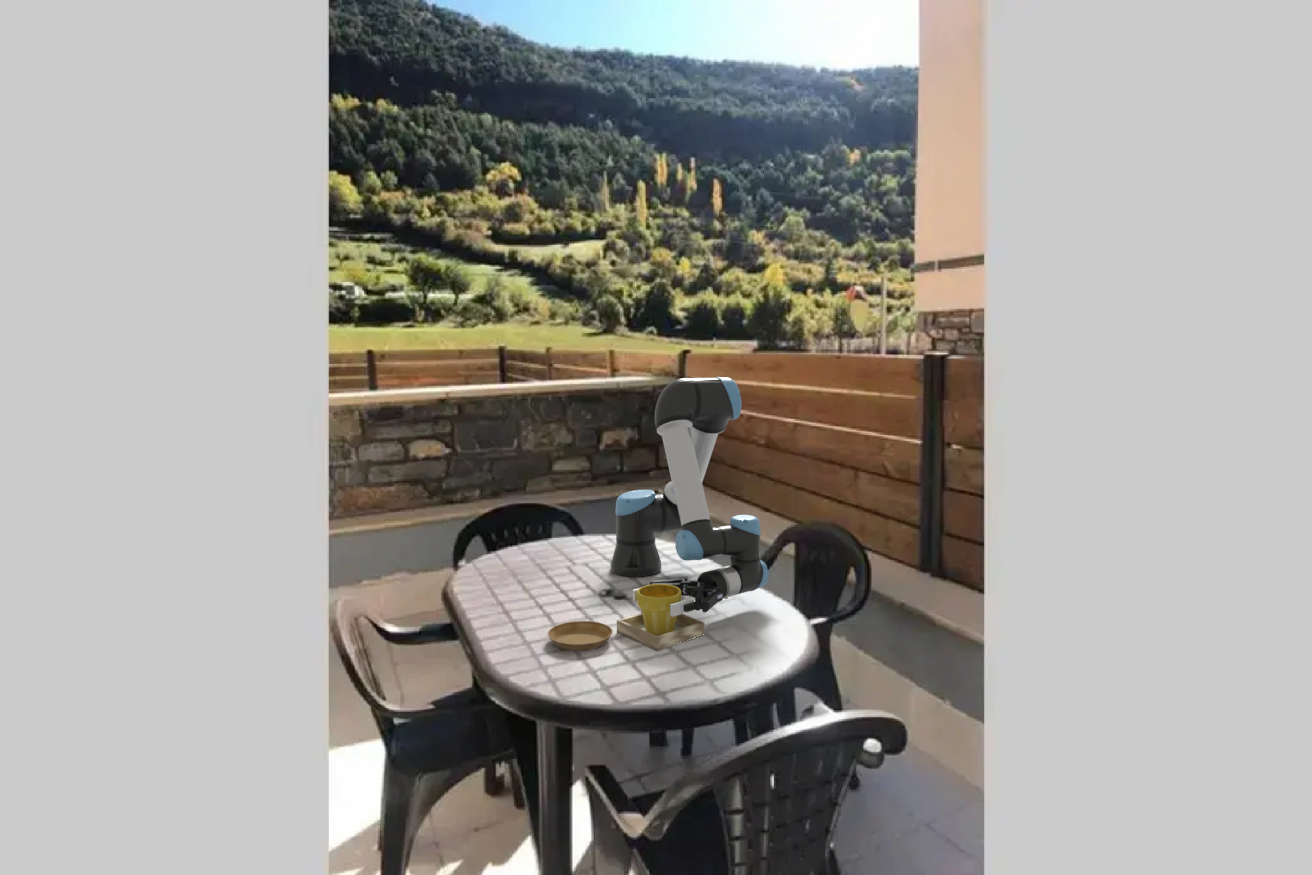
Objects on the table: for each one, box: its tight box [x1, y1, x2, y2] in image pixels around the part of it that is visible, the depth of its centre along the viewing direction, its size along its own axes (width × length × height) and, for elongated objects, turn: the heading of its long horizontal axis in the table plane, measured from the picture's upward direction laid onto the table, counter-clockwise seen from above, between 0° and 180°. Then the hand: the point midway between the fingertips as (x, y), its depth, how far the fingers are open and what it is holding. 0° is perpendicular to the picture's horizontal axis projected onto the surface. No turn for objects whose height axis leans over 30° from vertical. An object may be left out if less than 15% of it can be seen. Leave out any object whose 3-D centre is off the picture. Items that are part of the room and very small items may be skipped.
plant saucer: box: [547, 620, 614, 652], centre depth 183 cm, size 15×15×3 cm
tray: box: [616, 612, 706, 652], centre depth 187 cm, size 15×15×3 cm
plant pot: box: [636, 584, 682, 635], centre depth 187 cm, size 10×10×10 cm
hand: (651, 602), depth 185 cm, fingers open, 13 cm apart
